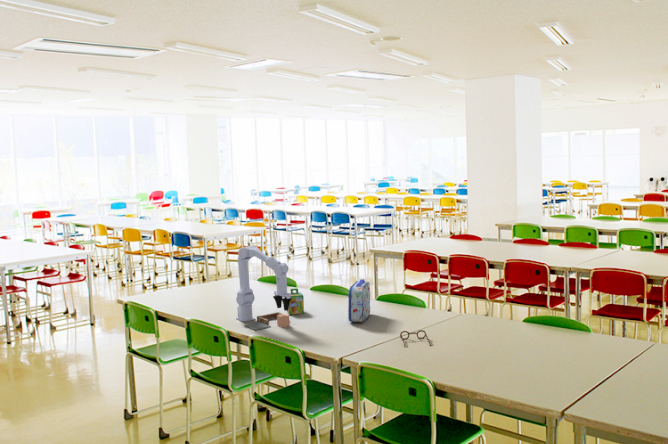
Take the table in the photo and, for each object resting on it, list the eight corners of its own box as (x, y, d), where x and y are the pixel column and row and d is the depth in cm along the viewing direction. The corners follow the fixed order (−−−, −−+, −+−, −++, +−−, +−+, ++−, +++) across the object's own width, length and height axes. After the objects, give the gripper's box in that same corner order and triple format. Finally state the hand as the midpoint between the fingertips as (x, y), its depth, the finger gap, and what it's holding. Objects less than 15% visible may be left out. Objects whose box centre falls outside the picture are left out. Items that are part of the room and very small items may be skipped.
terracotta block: (277, 325, 325) (276, 315, 325) (285, 324, 328) (284, 313, 327) (281, 327, 321) (281, 316, 321) (289, 325, 324) (289, 315, 323)
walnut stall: (257, 321, 335) (256, 316, 335) (278, 317, 343) (278, 312, 343) (267, 325, 325) (266, 320, 325) (289, 321, 334) (288, 316, 333)
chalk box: (289, 315, 347) (288, 291, 345) (286, 311, 355) (285, 288, 354) (304, 313, 349) (303, 289, 348) (301, 310, 358) (300, 286, 356)
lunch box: (354, 312, 349) (353, 276, 346) (372, 312, 346) (370, 276, 344) (346, 324, 322) (345, 286, 320) (365, 325, 320) (364, 286, 318)
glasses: (425, 339, 293) (425, 329, 292) (431, 347, 280) (431, 337, 279) (399, 340, 292) (399, 330, 292) (404, 348, 279) (403, 338, 279)
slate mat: (244, 326, 326) (244, 325, 326) (260, 322, 332) (260, 321, 332) (254, 330, 317) (254, 329, 316) (270, 327, 322) (270, 326, 322)
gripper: (269, 284, 326) (270, 308, 327) (282, 288, 314) (283, 312, 315) (279, 282, 330) (280, 305, 331) (293, 286, 318) (294, 310, 320)
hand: (282, 309), depth 324 cm, fingers open, 7 cm apart
